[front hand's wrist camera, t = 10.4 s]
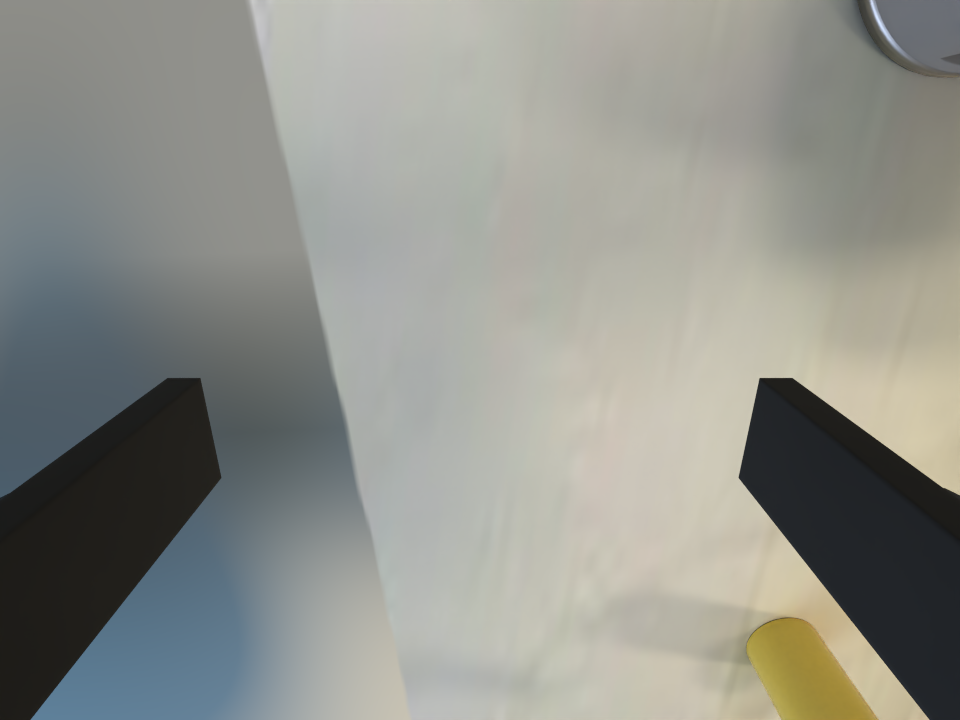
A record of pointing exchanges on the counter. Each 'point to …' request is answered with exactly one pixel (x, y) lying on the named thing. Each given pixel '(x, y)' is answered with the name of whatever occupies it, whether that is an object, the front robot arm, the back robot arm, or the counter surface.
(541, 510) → the counter surface
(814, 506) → the front robot arm
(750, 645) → the cylinder
